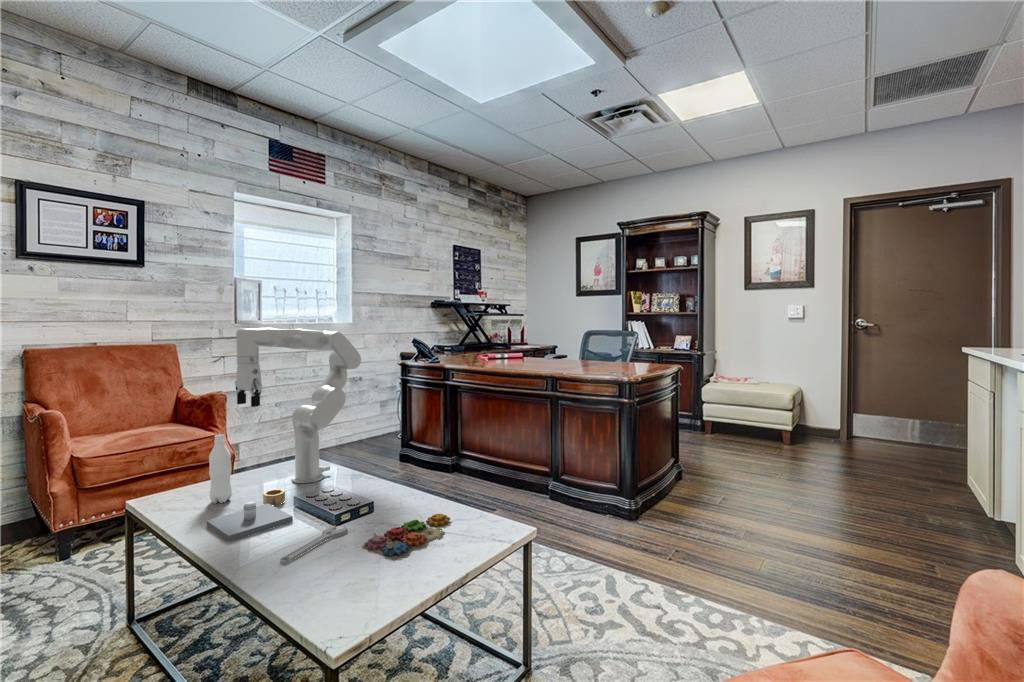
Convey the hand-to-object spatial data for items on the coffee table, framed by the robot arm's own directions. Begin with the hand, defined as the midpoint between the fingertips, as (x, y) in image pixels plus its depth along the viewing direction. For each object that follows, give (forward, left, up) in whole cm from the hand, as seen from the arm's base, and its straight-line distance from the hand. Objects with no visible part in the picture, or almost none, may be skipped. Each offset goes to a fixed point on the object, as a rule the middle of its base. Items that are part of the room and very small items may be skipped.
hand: (248, 405), depth 193 cm
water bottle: (+10, -2, -35) cm, 37 cm away
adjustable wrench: (+6, +59, -36) cm, 69 cm away
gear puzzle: (-18, +77, -36) cm, 87 cm away
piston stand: (+12, +28, -35) cm, 47 cm away
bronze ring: (-2, +15, -35) cm, 38 cm away
